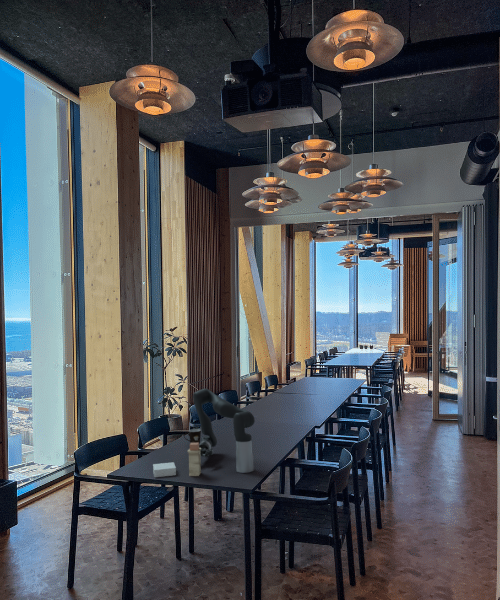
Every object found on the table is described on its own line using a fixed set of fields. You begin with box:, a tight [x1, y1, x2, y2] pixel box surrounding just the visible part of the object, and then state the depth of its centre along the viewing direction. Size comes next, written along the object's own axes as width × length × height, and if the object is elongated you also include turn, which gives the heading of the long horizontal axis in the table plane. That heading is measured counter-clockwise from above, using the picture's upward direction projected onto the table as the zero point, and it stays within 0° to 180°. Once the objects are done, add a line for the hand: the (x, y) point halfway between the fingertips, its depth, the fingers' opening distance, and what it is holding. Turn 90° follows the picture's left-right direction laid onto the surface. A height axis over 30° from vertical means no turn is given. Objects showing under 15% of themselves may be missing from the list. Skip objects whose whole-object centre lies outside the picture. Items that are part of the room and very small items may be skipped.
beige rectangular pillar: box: [187, 448, 202, 477], centre depth 278 cm, size 6×6×14 cm
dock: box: [152, 461, 177, 478], centre depth 282 cm, size 12×12×4 cm
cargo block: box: [189, 443, 199, 450], centre depth 279 cm, size 4×4×3 cm
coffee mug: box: [183, 428, 202, 445], centre depth 347 cm, size 12×9×10 cm
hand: (198, 455), depth 289 cm, fingers open, 8 cm apart
